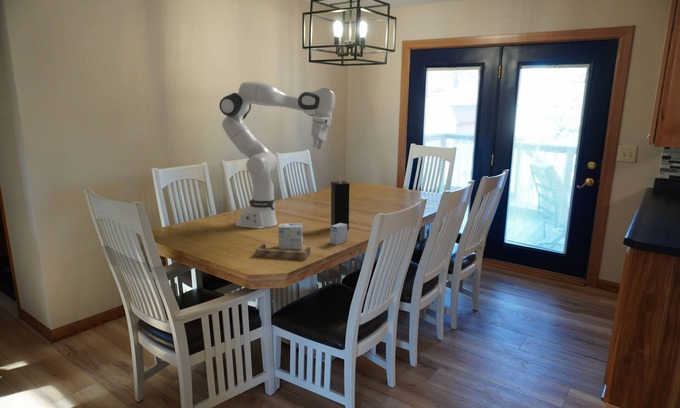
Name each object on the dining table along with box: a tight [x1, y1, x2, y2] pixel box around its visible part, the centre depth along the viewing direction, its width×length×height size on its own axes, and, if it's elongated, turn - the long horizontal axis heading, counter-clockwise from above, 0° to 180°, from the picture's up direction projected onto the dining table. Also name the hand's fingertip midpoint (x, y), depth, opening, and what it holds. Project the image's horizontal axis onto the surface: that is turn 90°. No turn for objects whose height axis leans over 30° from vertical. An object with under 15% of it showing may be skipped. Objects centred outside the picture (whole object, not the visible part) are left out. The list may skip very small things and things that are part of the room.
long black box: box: [330, 176, 351, 231], centre depth 230 cm, size 8×8×28 cm
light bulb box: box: [278, 222, 304, 251], centre depth 200 cm, size 11×7×11 cm, turn 92°
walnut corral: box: [255, 243, 311, 261], centre depth 190 cm, size 22×8×3 cm, turn 79°
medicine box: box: [329, 223, 348, 246], centre depth 208 cm, size 8×4×9 cm, turn 141°
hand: (316, 148), depth 221 cm, fingers open, 8 cm apart
